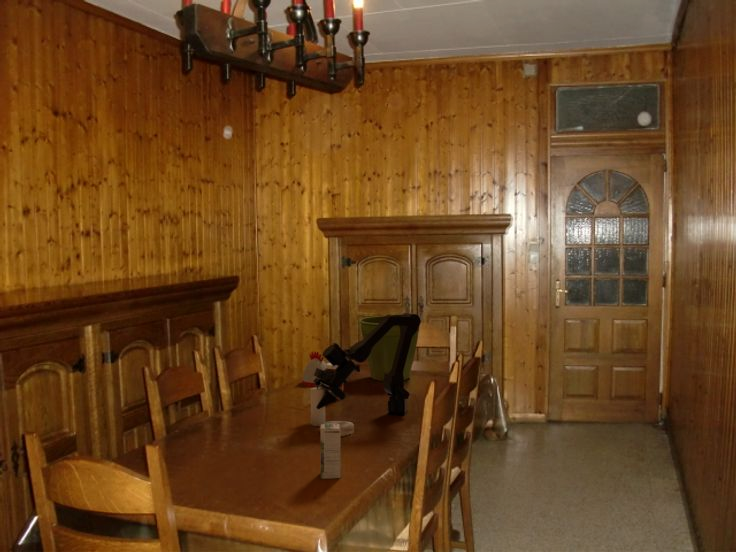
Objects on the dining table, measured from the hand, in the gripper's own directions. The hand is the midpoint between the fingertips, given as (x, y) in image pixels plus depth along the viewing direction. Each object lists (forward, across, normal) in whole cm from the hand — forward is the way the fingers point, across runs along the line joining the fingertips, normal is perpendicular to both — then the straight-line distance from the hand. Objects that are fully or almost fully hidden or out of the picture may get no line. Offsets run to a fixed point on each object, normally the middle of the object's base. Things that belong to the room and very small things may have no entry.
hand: (314, 406), depth 249 cm
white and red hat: (-14, -67, +24) cm, 73 cm away
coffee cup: (-11, -34, +21) cm, 41 cm away
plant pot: (-39, -59, +49) cm, 86 cm away
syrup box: (+16, +52, -6) cm, 55 cm away
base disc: (+2, +12, +7) cm, 14 cm away
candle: (+4, 0, +6) cm, 7 cm away
